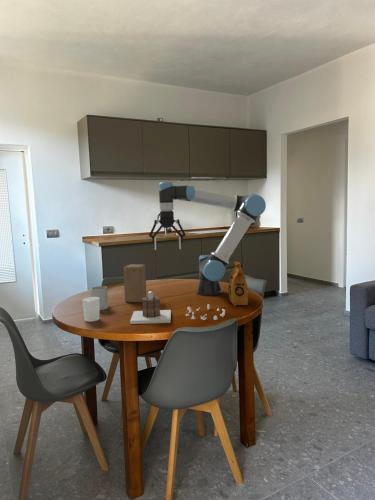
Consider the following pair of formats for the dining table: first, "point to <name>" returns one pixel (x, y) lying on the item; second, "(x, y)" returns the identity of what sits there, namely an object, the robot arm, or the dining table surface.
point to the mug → (100, 296)
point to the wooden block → (134, 282)
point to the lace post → (150, 295)
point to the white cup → (91, 308)
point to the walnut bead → (151, 307)
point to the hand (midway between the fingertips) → (167, 249)
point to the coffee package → (238, 286)
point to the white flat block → (163, 318)
